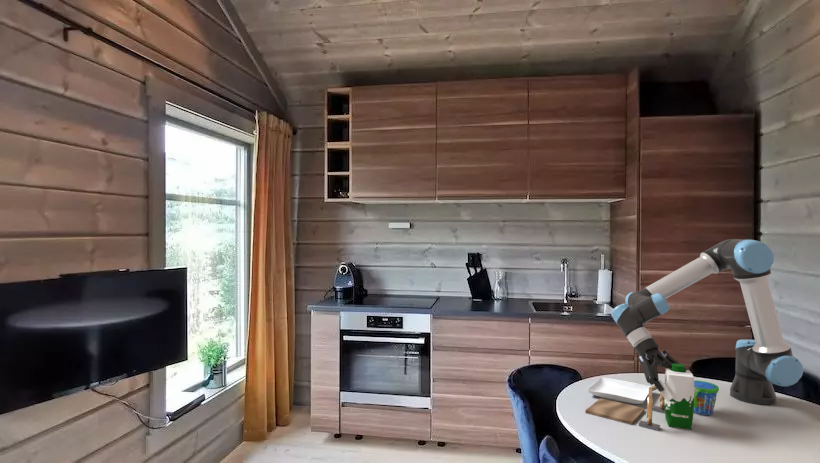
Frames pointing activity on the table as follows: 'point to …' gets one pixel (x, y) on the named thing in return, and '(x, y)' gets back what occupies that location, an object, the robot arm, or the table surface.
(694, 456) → the table surface
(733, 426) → the table surface
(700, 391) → the snack cup
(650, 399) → the copper wire
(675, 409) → the soya milk
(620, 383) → the salad plate
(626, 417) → the walnut board
